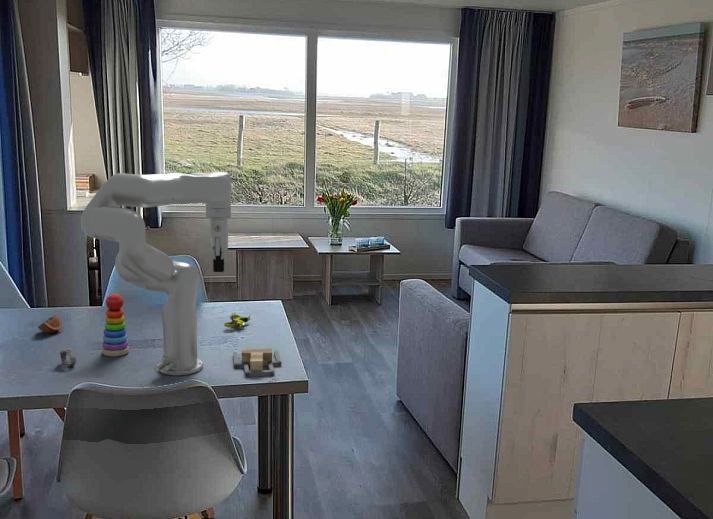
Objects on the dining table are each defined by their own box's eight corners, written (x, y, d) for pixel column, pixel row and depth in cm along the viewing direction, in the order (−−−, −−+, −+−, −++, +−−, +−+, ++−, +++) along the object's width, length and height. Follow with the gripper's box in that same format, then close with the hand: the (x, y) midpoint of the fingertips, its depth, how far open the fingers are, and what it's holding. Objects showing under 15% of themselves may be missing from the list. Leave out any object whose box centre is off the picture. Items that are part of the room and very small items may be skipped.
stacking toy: (100, 358, 207) (97, 298, 202) (103, 349, 214) (100, 291, 210) (128, 356, 209) (126, 297, 205) (129, 347, 216) (127, 290, 212)
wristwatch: (68, 360, 204) (67, 344, 203) (79, 366, 200) (78, 350, 199) (57, 364, 201) (56, 347, 200) (68, 369, 197) (66, 353, 196)
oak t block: (242, 361, 208) (242, 348, 207) (272, 360, 209) (272, 348, 208) (240, 374, 198) (240, 361, 197) (272, 374, 199) (272, 361, 198)
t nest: (233, 356, 212) (233, 352, 212) (278, 354, 215) (278, 350, 214) (235, 377, 196) (235, 373, 195) (284, 374, 198) (284, 370, 198)
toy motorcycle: (231, 310, 246) (250, 311, 245) (231, 320, 246) (250, 322, 246) (223, 320, 234) (243, 321, 233) (223, 331, 235) (243, 332, 234)
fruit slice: (53, 337, 224) (52, 322, 222) (33, 336, 224) (32, 321, 223) (65, 329, 232) (65, 314, 231) (46, 328, 232) (45, 313, 231)
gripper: (229, 216, 203) (230, 277, 207) (231, 209, 217) (231, 266, 221) (203, 216, 202) (204, 277, 206) (207, 209, 216) (208, 266, 220)
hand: (218, 271), depth 213 cm, fingers closed
